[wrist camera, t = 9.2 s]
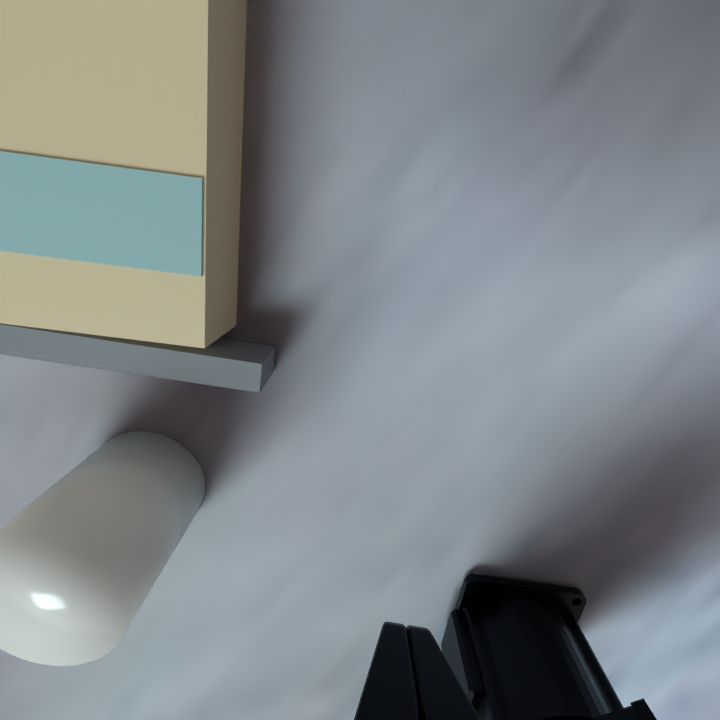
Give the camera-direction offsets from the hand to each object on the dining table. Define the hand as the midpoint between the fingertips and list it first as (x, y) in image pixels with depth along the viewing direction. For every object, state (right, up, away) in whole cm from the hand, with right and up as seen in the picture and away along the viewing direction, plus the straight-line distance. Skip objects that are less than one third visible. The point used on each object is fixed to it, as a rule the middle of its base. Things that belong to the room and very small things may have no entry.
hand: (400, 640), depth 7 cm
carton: (-9, +13, +9) cm, 18 cm away
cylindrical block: (-11, -1, +13) cm, 17 cm away
